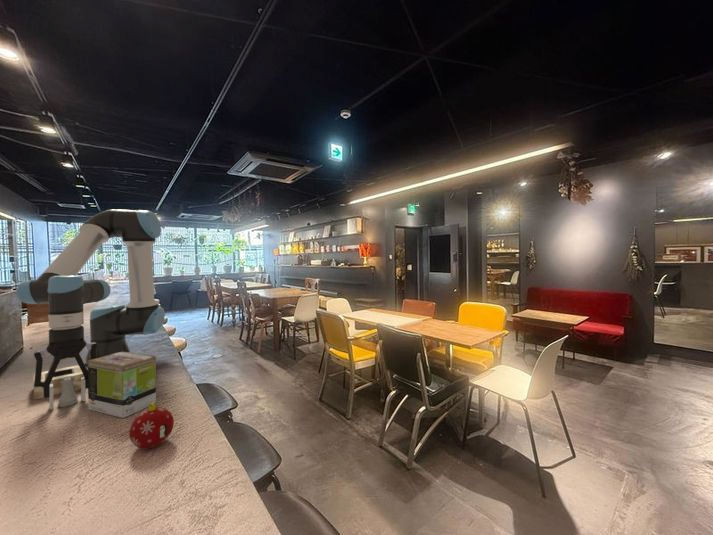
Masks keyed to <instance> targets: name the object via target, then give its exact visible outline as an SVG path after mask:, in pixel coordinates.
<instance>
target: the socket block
mask: <svg viewBox="0 0 713 535" xmlns="http://www.w3.org/2000/svg"><path fill="white" fill-rule="evenodd" d="M48 371H49V370H45V371H42V374H41V381H45V378H46V376H47V374H48ZM67 376H69V378H70V376H73V378H74V379H75V380H74V382H73V384H74V385H73V389H74V391H78V390H81V378H83V377H84V375H83V373H82V371H81V369H80V367H79V365H77V364H76V365H72V366H68V367H62V368H57V369H56V371H55V373H54V376H53V378H52V381H51V383H50V384H53V396H56V395H57V396H58V395H62V388H61V387H62V384H61V383H60V382H61V380H62V378H64V377H65V378H66V377H67ZM34 381H35V373H33V382H34ZM43 398H44V388H43V387H35V386H34V385H33V400H39V399H43ZM44 399H45V398H44Z"/></svg>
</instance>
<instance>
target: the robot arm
mask: <svg viewBox="0 0 713 535" xmlns="http://www.w3.org/2000/svg"><path fill="white" fill-rule="evenodd" d="M161 227H162V226H161V222H160V219H159V217H158V216H157V215H156V213H154V212H152V211H150V210H143V209H119V208H118V209H116V208H115V209H113V208H112V209H106V210H103V211H101V212H99V213H98V212H97V214H94V215H93V216H91V217H90V218H88V219H87V220H85V222H84V223H82V225H81V226H79V229H78V232H79V233H78V234H77V235H76V236H75V237H74V238H73V239H72V240H71V241H70V243H69V244H68V245H67V246H66V247H65V248H64V249H63V250H62V251H61V252H60V254H59V255H58V256H57V257H56V258H55V259H54V260H53V261H52V262H51V263H50V264H49V265H48V267H46V268H45V270H44V271H43V272H42V273H41V274H40V275H39V276H38V277H37V279H30V280H25V281H22V282H21V283H20V284H19V285H18V286H17V288H16V296H17V297H16V298H18V300H19V301H20V302H21V303H24V304H32V305H35V304H36V305H42V304H48V315H47V316H48V328H50V329H49V330H48V345H47V346H46V348H43V349H41V350H35V351H34V353H33V357H34V358H35V360H36V362H35V370H34V371H35V381H34V380H33V387H34V386H35V387H43V388H44V399H47V398H49V400H48V401H49V405H48V406H49V410H53V409H54V395H53V384H50V383H51V381H52V378H53V376H54V373H55V371H56V369H58V366H59V364H60V361H61V360H66V359H67V358H68V359H73V358H74V359H75V361H76V362H77V364H78V365H79V367H80V369H81V371H82V373H83V375H84V377H83V378H81V389H80V393H81V394H80V398H81V401H82V402H85V401H86V397H87V396H86V389H87V390H88V368H87V366H88V361H89V360H92V359H96V358H100V357H104V356H107V355H111V354H115V353H119V352H130V353H131V350H130V349H131V348H130V347H129V345H128V342H127V340H126V336H129V335H130V336H131V335H133V336H135V335H139V336H140V335H144V336H145V335H153V334H157V333H158V332H160V330H161V329H162V327H163V325H164V322H165V319H166V318H165V317H166V316H165V315H166V312H165V308H163V307H161V306H159V301H157V300H155V291H154V289H155V288H154V287H155V286H154V268H153V248H152V247H153V246H154V244H155V243H156V239H158V238H159V237H160V236H161V233H162V228H161ZM113 238H121V239H122V240H121V241H122V243H123V244H124V245H125V246H126V249H127V250H126V252H127V266H128V268H127V269H128V270H127V271H128V287H129V288H128V289H129V302H128V303H127V304H126V305H125V304H115V305H108V306H103V307H97V308H94V309H92V310H91V311H90V316H89V330H90V331H89V334H90V336H89V339H90V342H86V340H85V332H84V331H85V329H84V328H85V327H84V326H83V324H84V320H85V318H84V305H86V304H91V303H98V302H101V301H104V300H105V299H107V298H108V297H109V296H110V294H111V292H112V291H111V286H110V284H109V283H108V282H107V281H106V280H103V279H93V278H92V279H87V280H84V277H83V276H82V275H78V274H79V272H80V271H81V270H82V269H83V267H85V265H86V263H88V261H89V260H90V258H91V257H92V256H93V255H94V253H96V251H97V250H98V249H99V248H100V247H101V245H102V244H105V243H107V242H108V241H109V240H110V239H113ZM85 348H86V349H87V353H86V355H85V358H84V361H83V359H82V357H81V355H80V353H81V352H82V350H83V349H85ZM47 353H49V354H50V356H53V360H52V362H51V364H50V367H49V368H48V370H47V371H48V374H47V376H46V378H45V381H41V374H42V372H43V371H42V370H43V358H45V357H46V354H47ZM85 364H86V365H87V366H86V365H85Z"/></svg>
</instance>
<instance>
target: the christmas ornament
mask: <svg viewBox="0 0 713 535" xmlns="http://www.w3.org/2000/svg"><path fill="white" fill-rule="evenodd" d="M174 423H175V421H174V416H173V414H172V413H171V411H169V410H168V409H166V408H165V407H161V406H160V407H159V406H156V403H155V404H154V403H151V404H150V406H149V407H148V408H147V409H144V410H143V411H142V412H140V413H139V414H137V416H136V417H135V418H134V419H133V421H132V423H131V425H130V427H129V440H130V442H131V443H132V445H134V446H135V447H137V448H138V449H139V448H140V449H144V450H145V449H147V450H149V449H152V448H156V447H158V446H159V445H161V444H163V443H164V442H166V440H167V439H168V438H169V437H170V435H171V433H172V432H173V430H174V429H173V428H174Z"/></svg>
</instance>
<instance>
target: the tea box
mask: <svg viewBox="0 0 713 535" xmlns="http://www.w3.org/2000/svg"><path fill="white" fill-rule="evenodd" d="M156 358H157V357H156V355H152V354H144V353H137V352H131V351H130V352H119V353H115V354H111V355H107V356H104V357H100V358H96V359H92V360H89V361H88V365H87V371H88V388H87V390H88V391H87V393H88V395H87V396H88V397H87V398H88V399H87V400H88V401H87V404H88V410H90V411H94V412H98V413H102V414H106V415H110V416H114V417H118V418H124V419H125V418H126V417H129V416H132V415H134V414H136V413H138V412H140V411H142V410H145V409H146V408H147V409H148V408H149V406H150V404H151V403H154V404H155V405H156V402H157V381H156V380H157V378H156V377H157V371H156V370H157V369H156V367H157V366H156V365H157V359H156Z"/></svg>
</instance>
